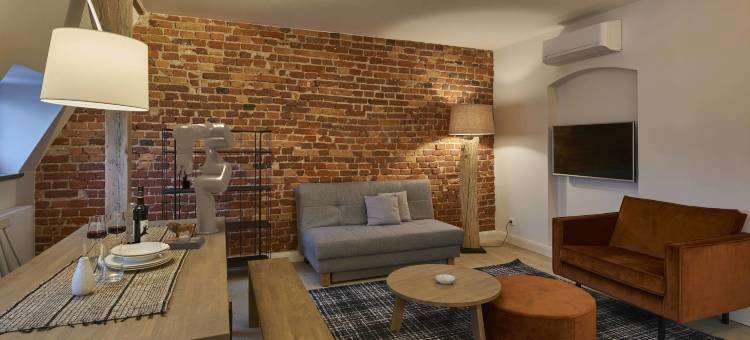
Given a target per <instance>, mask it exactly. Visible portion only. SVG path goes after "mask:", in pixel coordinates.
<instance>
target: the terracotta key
mask: <svg viewBox="0 0 750 340" xmlns="http://www.w3.org/2000/svg"><path fill="white" fill-rule="evenodd" d="M166 240H167V241H177V240H179V238H175V237H169V238H168V239H166Z"/></svg>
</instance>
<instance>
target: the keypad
mask: <svg viewBox="0 0 750 340" xmlns="http://www.w3.org/2000/svg"><path fill="white" fill-rule="evenodd" d="M192 237H193V236H192ZM192 237H191V236H190V239H191V238H192ZM200 237H201V239H200V240H195V241H190V239H189V240H188V241H179V240H177V241H167V240H168V239H166V240H165V241H163V242H162V243H165V244H168V245H169V246H170V250H169V251H176V250H178V251H179V250H199V249H200V248H201V247H203V245H204V244H205V243H206V238H205V236H200Z"/></svg>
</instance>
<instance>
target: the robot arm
mask: <svg viewBox="0 0 750 340" xmlns="http://www.w3.org/2000/svg"><path fill="white" fill-rule="evenodd" d="M172 137H173V138H174V140H175V141H176V155H177V160H176V168H177V169H176V174H177V175H178V176H180V178H181V182H182V184H181V186H182V189H183V190H189V189H191V174H193V173H194V172H193V171H194V167H193V164H194V163H193V155H194V142H200V141H202V140H204V141H203V145H204V146H203V147H204V150H205V151H204V152H205V155H206V158H205V161H204V164H203V165H202V168H201V175H198V176H196V177H195V178H194V180H193V187H194V188H193V189H194V192H195V200H196V201H195V204H196V205H195V206H196V229H195V230H196V233H197V234H198V235H211V234H215V233H218V232H219V228H216V227H217V226H216V201H215V198H214V196H213V195H212V193H215V194H216V193H225V192H226V191H227V189H228V187H229V183H230V180H231V176H232V175H233V174H232V172H233V171H232V170H233V168H232V165H231V163H230V162H228V161H223V158H222V156H221V155H220V153H219V152H218V151H230V150H231V151H232V150H233V149H234V148H235V146H236V145H235V144H236V143H235V137H234V135H233V134H232V131H231V129H230V127H229V126H228V124H226V123H224V122H206V123H196V124H189V125H187V124H186V125H177V126H175V127H174V128H173V130H172ZM193 231H194V230H193ZM194 232H195V231H194ZM196 233H195V235H196Z"/></svg>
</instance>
